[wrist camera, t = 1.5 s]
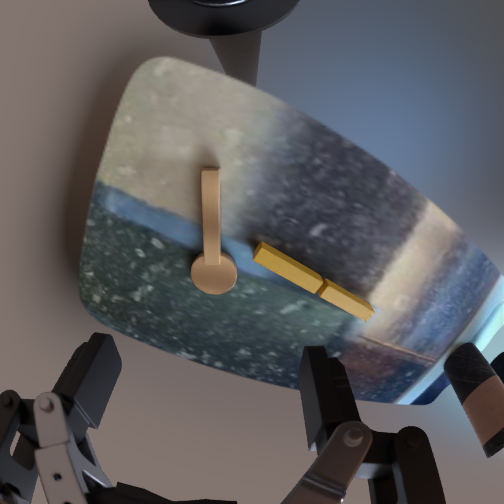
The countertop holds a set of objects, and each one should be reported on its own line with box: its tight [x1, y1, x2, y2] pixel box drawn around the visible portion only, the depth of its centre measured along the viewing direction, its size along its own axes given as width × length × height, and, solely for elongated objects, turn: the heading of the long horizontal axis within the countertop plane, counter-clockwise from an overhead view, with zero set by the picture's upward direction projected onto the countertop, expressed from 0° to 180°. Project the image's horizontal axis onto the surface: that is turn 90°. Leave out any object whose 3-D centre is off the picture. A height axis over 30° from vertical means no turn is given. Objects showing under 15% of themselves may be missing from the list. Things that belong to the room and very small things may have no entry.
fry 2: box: [317, 278, 374, 321], centre depth 27 cm, size 7×2×2 cm, turn 58°
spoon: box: [191, 168, 237, 294], centre depth 24 cm, size 12×4×2 cm, turn 178°
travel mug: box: [444, 343, 504, 458], centre depth 25 cm, size 8×8×20 cm
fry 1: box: [253, 241, 323, 294], centre depth 26 cm, size 7×2×2 cm, turn 58°
